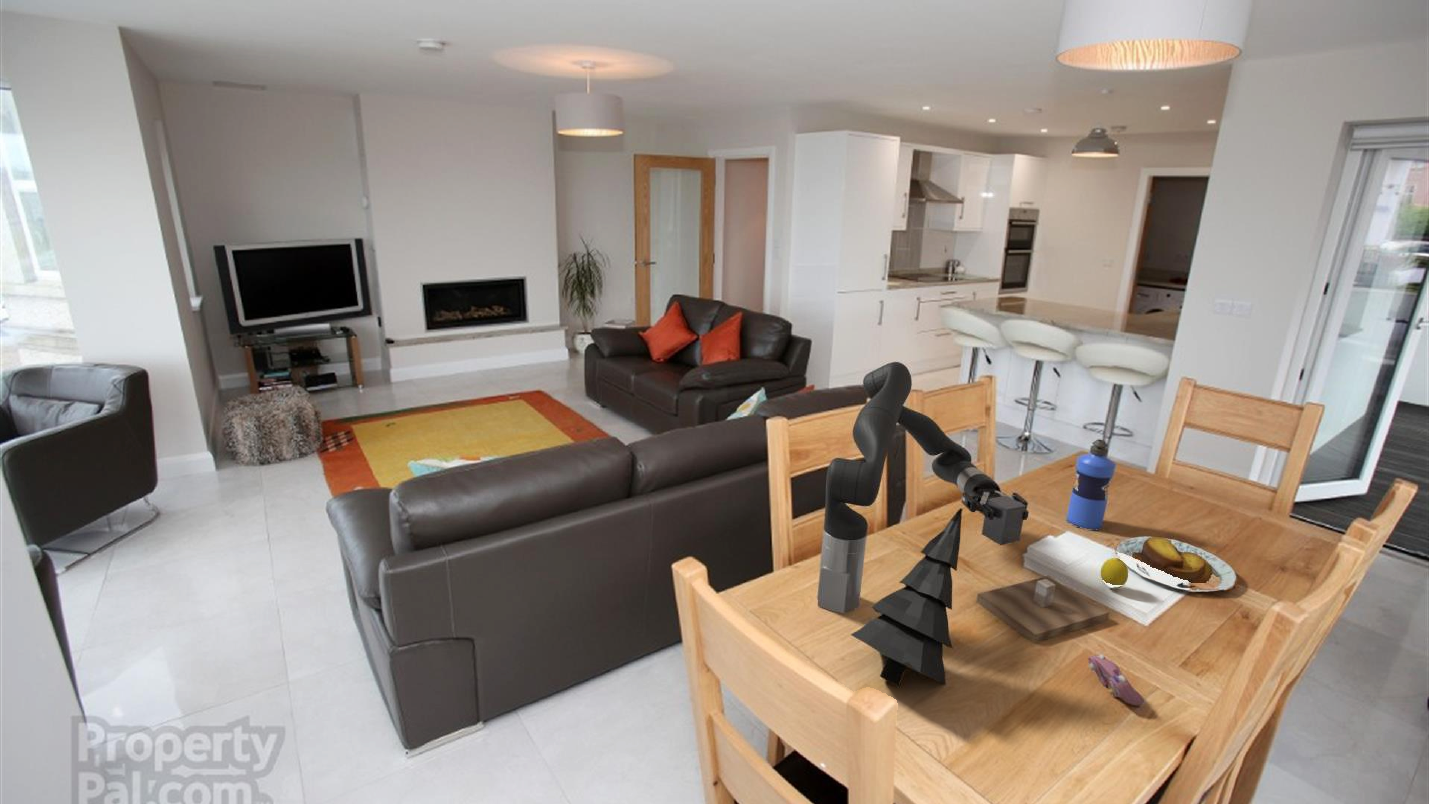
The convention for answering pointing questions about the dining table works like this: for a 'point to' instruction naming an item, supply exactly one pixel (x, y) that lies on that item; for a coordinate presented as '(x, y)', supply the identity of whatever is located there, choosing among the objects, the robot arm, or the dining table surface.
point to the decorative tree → (918, 612)
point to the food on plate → (1179, 560)
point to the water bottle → (1091, 487)
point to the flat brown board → (1042, 608)
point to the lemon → (1114, 571)
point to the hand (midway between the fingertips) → (1009, 516)
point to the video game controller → (1114, 679)
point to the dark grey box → (1004, 520)
